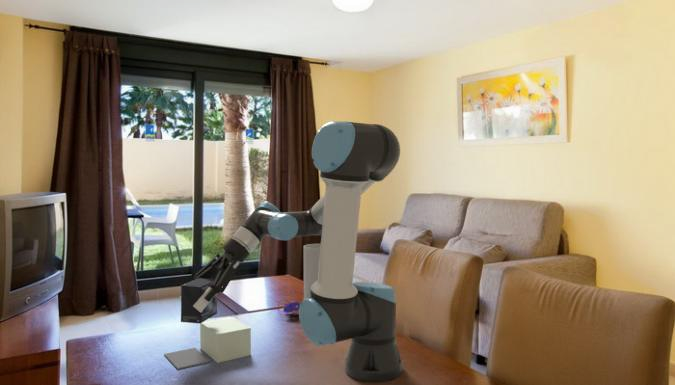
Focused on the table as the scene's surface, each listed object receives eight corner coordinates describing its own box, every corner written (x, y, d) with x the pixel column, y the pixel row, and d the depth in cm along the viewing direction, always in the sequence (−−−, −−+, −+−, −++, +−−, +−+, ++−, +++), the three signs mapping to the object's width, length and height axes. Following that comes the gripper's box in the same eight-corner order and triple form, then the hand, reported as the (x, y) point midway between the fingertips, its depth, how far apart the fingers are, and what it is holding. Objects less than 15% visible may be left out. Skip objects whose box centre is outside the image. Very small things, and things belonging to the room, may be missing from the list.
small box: (201, 324, 133) (201, 286, 133) (179, 322, 135) (179, 285, 134) (218, 313, 144) (218, 278, 143) (198, 312, 145) (197, 277, 144)
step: (250, 355, 141) (250, 327, 140) (217, 362, 135) (217, 334, 135) (231, 342, 152) (231, 316, 152) (200, 348, 146) (200, 322, 146)
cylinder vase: (333, 315, 181) (333, 248, 181) (300, 313, 183) (300, 247, 183) (338, 306, 194) (338, 244, 193) (307, 305, 196) (307, 243, 195)
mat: (210, 362, 135) (210, 360, 135) (177, 369, 130) (177, 368, 130) (195, 348, 146) (194, 347, 146) (164, 355, 141) (164, 353, 141)
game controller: (278, 302, 186) (303, 297, 186) (282, 324, 184) (307, 318, 184) (274, 301, 176) (301, 295, 177) (278, 324, 174) (306, 317, 175)
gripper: (266, 259, 138) (214, 322, 129) (233, 248, 157) (186, 303, 149) (249, 241, 134) (194, 305, 126) (217, 233, 154) (168, 288, 145)
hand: (189, 304), depth 137 cm, fingers closed on small box, 11 cm apart
